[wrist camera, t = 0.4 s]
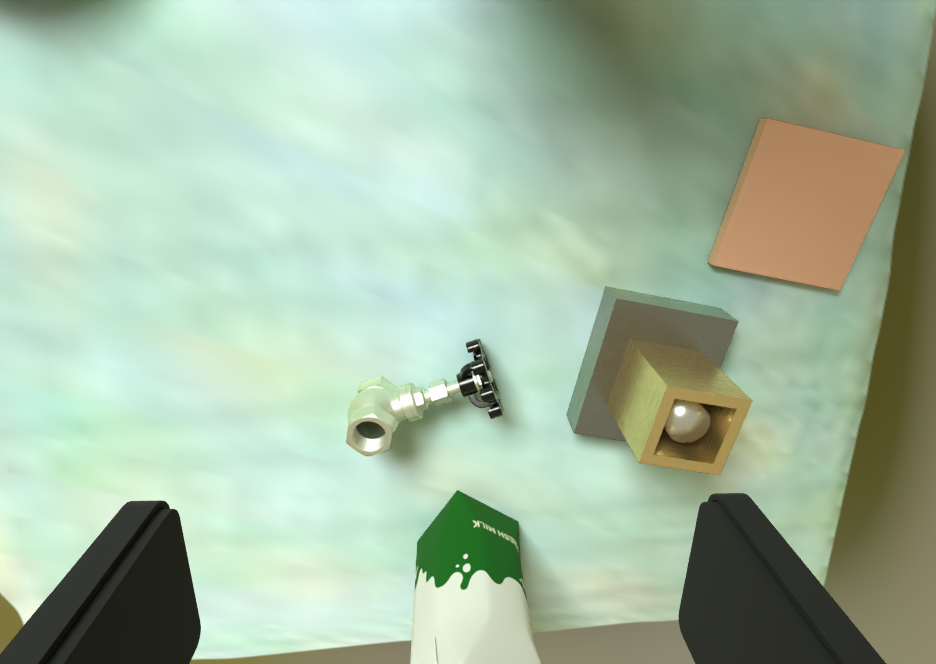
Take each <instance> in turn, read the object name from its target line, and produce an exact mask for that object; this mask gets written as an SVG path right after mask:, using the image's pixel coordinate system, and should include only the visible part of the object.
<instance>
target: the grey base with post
mask: <svg viewBox="0 0 936 664" xmlns="http://www.w3.org/2000/svg"><path fill="white" fill-rule="evenodd" d="M737 324H738V321H737V320H736V319H735V318H733V317H732V316H731V315H729V314H728V313H726V312H725V311H724V310H722V309H721V308H716V307H711V306H705V305H700V304H695V303H690V302H684V301H679V300H674V299H668V298H663V297H658V296H653V295H647V294H642V293H637V292H632V291H626V290H621V289H616V288H610V287H605V290H604V294H603V297H602V300H601V303H600V307H599V310H598V313H597V317H596V320H595V323H594V326H593V330H592V333H591V336H590V339H589V343H588V346H587V349H586V353H585V356H584V359H583V362H582V366H581V369H580V372H579V376H578V379H577V382H576V385H575V389H574V392H573V395H572V399H571V402H570V405H569V408H568V412H567V417H568V420H569V422H570V425H571V427H572V430H573V432H574V433H577V434H583V435H590V436H596V437H602V438H609V439H615V440H621V441H626V439H625V437H624V435H623V433H622V432H621V430H620V428H619V426H618V424H617V423H616V421H615V419H614V417H613V415H612V413H611V412H610V410H609V408H608V406H607V404H608V401H609V398H610V395H611V392H612V389H613V386H614V383H615V380H616V377H617V374H618V371H619V368H620V365H621V362H622V359H623V356H624V353H625V350H626V347H627V344H628V341H629V339H633V340H639V341H644V342H650V343H655V344H661V345H667V346H672V347H678V348H683V349H689V350H694V351H700V352H702V353H703V354H704V355H705V356H706V357H707V358H708V359H709V360H710V361H711V362H712V363H714V364H715V365H716V366H717V367H718V368H720V366H721V363H722V361H723V358H724V356H725V353H726V351H727V348H728V346H729V343H730V341H731V339H732V336H733V334H734V331H735V329H736V326H737ZM709 426H710V417H709V414H708V412H707V411H706V410H705V409H704V408H703V407H702V405H701V404H700V403H698V402H692V401H686V400H681V399H674V402H673V404H672V407H671V410H670V412H669V415H668V417H667V420H666V423H665V425H664V429H665V430H666V431H667V433H668V434H669V436H670V437H671V438H672V439H673V440H675V441H677V442H680V443H690V442H694V441H696V440H698V439H700V438H701V437H702V436H703V435H704V434H705V433H706V432H707V430H708V428H709Z"/></svg>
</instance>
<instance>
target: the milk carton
mask: <svg viewBox="0 0 936 664" xmlns="http://www.w3.org/2000/svg"><path fill="white" fill-rule="evenodd" d="M410 664H542V663H541V661H540V658H539V655H538V653H537V650H536V647H535V645H534V640H533V634H532V628H531V622H530V616H529V611H528V605H527V599H526V593H525V587H524V581H523V575H522V569H521V562H520V546H519V529H518V521H516V520H514V519H512V518H510V517H508V516H506V515H504V514H502V513H500V512H498V511H496V510H494V509H493V508H491V507H489V506H487V505H485V504H483V503H481V502H479V501H477V500H475V499H473V498H471V497H469V496H467V495H466V494H464V493H462V492H460V491H458V490H457V491H456V493H455V494H454V495H453V497H452V498H451V499H450V500H449V502H448V503H447V504H446V506H445V507H444V508H443V509H442V511H441V512H440V513H439V515H438V516H437V517H436V518H435V520H434V521H433V522H432V524H431V525H430V526H429V527H428V529H427V530H426V531H425V533H424V534H423V535H422V536H421V538H420V539H419V540H418V542H417V558H416V577H415V594H414V611H413V629H412V646H411V661H410Z"/></svg>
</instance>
